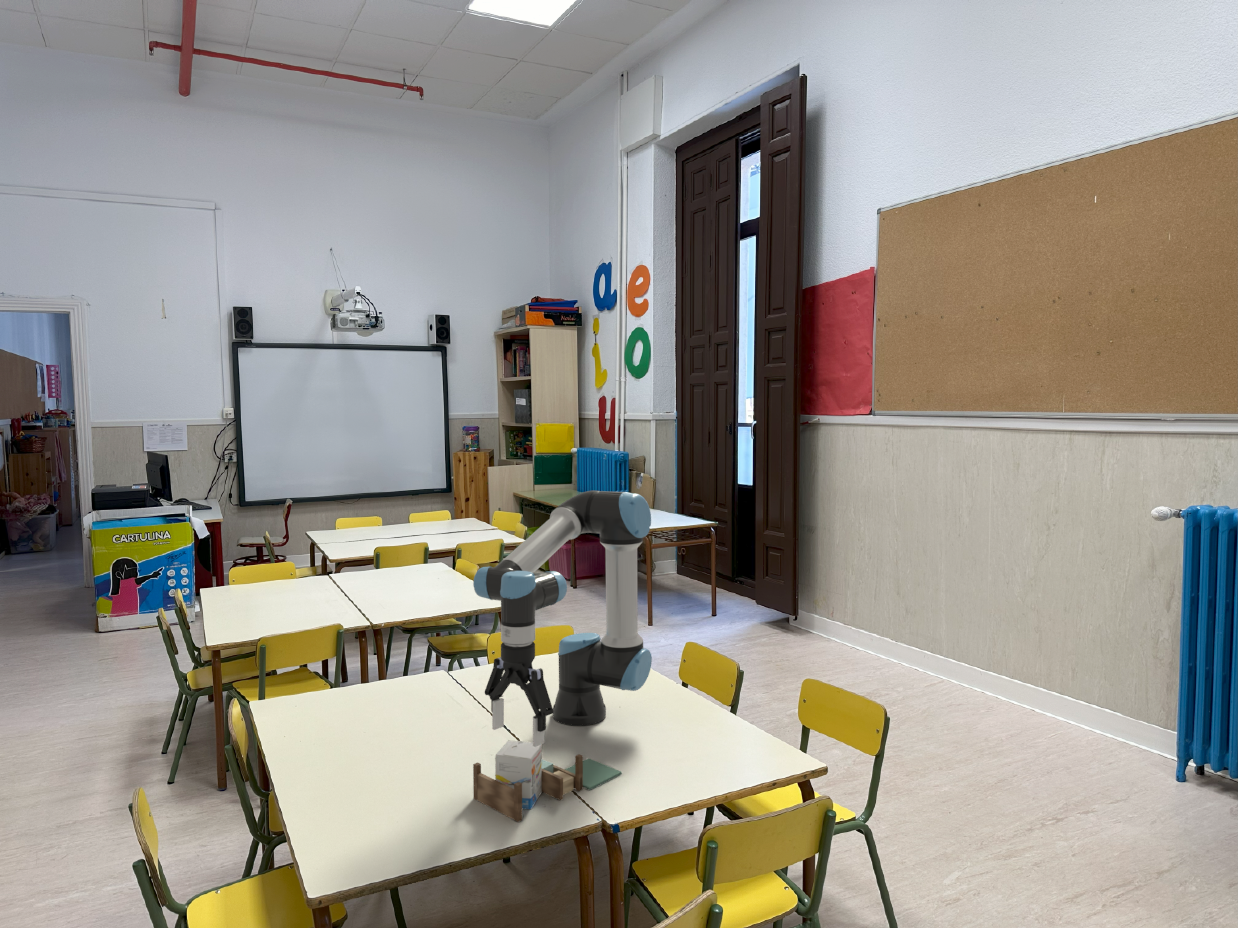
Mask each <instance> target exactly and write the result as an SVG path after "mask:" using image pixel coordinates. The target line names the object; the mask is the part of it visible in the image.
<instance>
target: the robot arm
mask: <svg viewBox="0 0 1238 928" xmlns="http://www.w3.org/2000/svg"><path fill="white" fill-rule="evenodd" d="M651 515H652V513H651V508H650V506H649V503H648V501H647V500H646V498H645V497H644V496H642V495H641V494H639V493H632V492H628V491H610V490H609V491H608V490H607V491H605V490H604V491H603V490H601V491H600V490H588V491H583V492H581V493H578V494H576V495H573V496H572V497H570V498H568V499H566V500H564V502H561V504H559V505H558V506H557V507H556V508H554V509H553V510H552V511H551V513H550V516H549V519H547V520H546V521H545V522H544V523H543V524H541V526H539V528H537V529H536V530H535V531H534V532H533V533H532V534H531V535H529V537H527V538H526V539H525V540H524V541H523V542H521V543H520V544H519V545H518V546H517V547H516V548H515V549H513V551H511V553H509V554H507V556H506V557H505V558H504V559H502V560H501V561H500V562H499V563H498V564H497V565H495V566H493V567H492V566H491V565H490V566H483V567H480V568H479V569H478V570H477V571H476V572H475V574H474V576H473V577H474V578H473V580H472V581H473V582H472V584H473V585H472V586H473V589H474V592H475V594H476V595H477V596H478V597H480V598H483V599H487V600H490V601H499V602H500V615H501V616H500V617H501V619H500V641H501V642H502V643H501V644H500V657H497V658H494V659H493V666H492V667H493V668H492V671H491V673H490V676H489V678H488V681H487V685H486V686H485V690H484V695H485V696H488V697H489V699H490V700H491V701H490V703H491V706H490V709H491V710H490V711H491V714H492V718H491V719H492V721H491V722H492V730H493V731H495V730H498V729H501V728H503V727H504V726H505V723H504V721H505V714H504V713H505V712H504V711H505V707H504V706H505V701H504V700H505V699H504V698H502V697H504V695H503V694H505V692H506V690H507V689H508V688H509V686H510V684H515V685H516V686H518V687H519V688H520V689H521V690H522V691H523V692H524V693H525V696H526V699H527V700H528V702H529V705H530V706H531V708H532V711H533V712H534V715H533V716H532V742H533V746H534V747H536V746H539V745H541V744H542V745H543V744H545V731H546V728H547V716H550V715H552V719H554V721H556V722H558V723H559V724H562V725H566V726H577V727H579V726H580V727H581V726H590V725H595V724H598V723H600V722H602V721H604V720H605V718H606V717H607V707H606V704H605V702H604V697H603V694H602V692H601V686H604V687H608V688H612V689H613V688H614V689H618V690H621V691H631V692H635V691H638V690H640V689H641V688H642V687H643V686H644V685H645V683H646V681H647V680H648V677H649V675H650V673H651V668H652V661H653V658H652V653H651V650H649V649H648V648H645V647H644V638H643V637H642V636H641V635H640V634H639V633H638V631H639V628H638V625H639V624H638V621H639V619H638V615H639V614H638V613H639V612H638V610H639V609H638V608H639V607H638V548H639V547H640V546H641V544H643V542H644V541H643V540H644V539H643V538H646V536H648V534H649V532H650V529H651V528H650V527H651V526H652V525H651V524H652V516H651ZM586 533H587V534H589V533H591V534H599V543H600V544H601V545H602V546H603V548H604V549H605V616H606V617H605V622H606V623H605V625H606V626H605V629H606V631H605V632H606V633H605V634H604V636H603V637H601V636H600V634H598V633H596V632H579V633H575V634H570V635H567V636H565V637H563V638H562V639H560V642H559V645H558V653H557V655H558V691H557V694H556V698H555V702H554V704H553V706H552V703H551V699H550V698H551V697H550V695H549V692H548V689H547V685H546V683H545V679H544V669H543V668H537V669H536V668H533V661H534V660H535V659H536V643H535V642H534V641H535V640H536V611H538V610H541V609H543V608H546V607H549V606H553V605H556V603H558V602H560V601H562V600H563V599H564V598H565V597H566V594H567V592H568V584H567V581H566V579H565V577H564V575H562V574H561V573H560V572H558V571H556V570H550V571H547V570H546V571H544V572H542V573H541V572H536V571H537V570H539V568H540V567H542V566H543V565H544V564H545V563H546V562H547V561H548V560H549V559H550V558H551V557H552V556H553V555H554V554H555V553H557V551H558V550H560V549H561V548H562V547H563V546H564V544H566V542H568V541H569V540H574V539H576V538H578V537H579V536H580V535H581V534H586Z"/></svg>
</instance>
